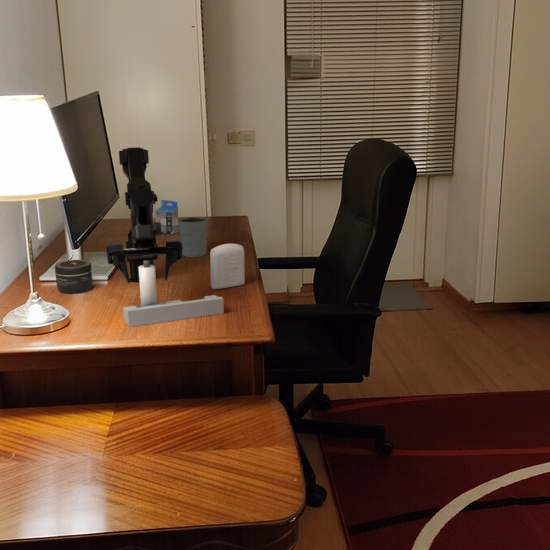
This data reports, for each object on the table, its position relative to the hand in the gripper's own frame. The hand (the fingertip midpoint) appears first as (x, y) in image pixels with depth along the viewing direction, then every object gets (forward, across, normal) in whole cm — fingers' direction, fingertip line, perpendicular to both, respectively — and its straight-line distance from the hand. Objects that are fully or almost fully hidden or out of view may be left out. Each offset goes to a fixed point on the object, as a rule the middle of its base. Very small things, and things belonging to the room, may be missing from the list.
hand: (147, 281), depth 170 cm
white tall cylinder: (+7, 0, +6) cm, 9 cm away
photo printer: (-8, +23, +21) cm, 32 cm away
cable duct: (+8, +6, +5) cm, 11 cm away
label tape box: (-62, +12, +76) cm, 99 cm away
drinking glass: (-36, +18, +50) cm, 64 cm away
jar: (-13, -19, +26) cm, 35 cm away
